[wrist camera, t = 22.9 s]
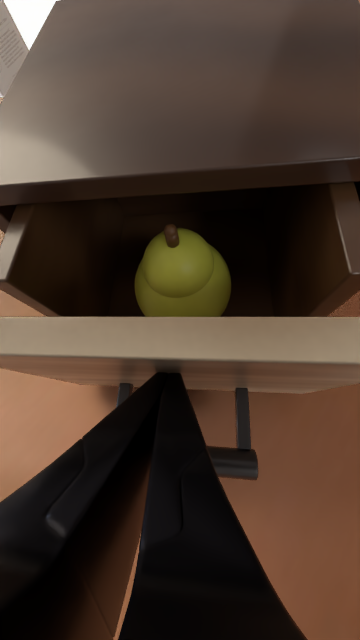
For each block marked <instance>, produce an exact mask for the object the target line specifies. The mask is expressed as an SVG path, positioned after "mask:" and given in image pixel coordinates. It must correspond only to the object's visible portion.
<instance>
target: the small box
mask: <svg viewBox="0 0 360 640" xmlns="http://www.w3.org/2000/svg"><path fill="white" fill-rule="evenodd" d="M28 52H29V50H28V48H27V46H26V44H25V42H24V40H23V38H22V36H21V34H20V32H19V30H18V28H17V27H16V25H15V23H14V21H13V19H12V17H11V15H10V13H9V11H8V9H7V7H6V5H5V3H4V1H3V0H0V97H5V95H6V93H7V91H8V89H9V88H10V86H11V84H12V82H13V80H14V78H15V76H16V75H17V73H18V71H19V69H20V67H21V65H22V64H23V62H24V60H25V58H26V56H27V54H28Z"/></svg>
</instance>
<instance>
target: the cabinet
mask: <svg viewBox="0 0 360 640" xmlns="http://www.w3.org/2000/svg"><path fill="white" fill-rule="evenodd" d="M343 182H354V185H355V188H356V191H357V195H358V198H359V201H360V3H359V1H358V0H60V1H56V3H55V4H54V6H53V8H52V10H51V12H50V14H49V15H48V17H47V19H46V21H45V23H44V25H43V27H42V28H41V30H40V32H39V34H38V36H37V38H36V40H35V41H34V43H33V45H32V47H31V49H30V51H29V52H28V54H27V56H26V58H25V60H24V62H23V64H22V65H21V67H20V69H19V71H18V73H17V75H16V76H15V78H14V80H13V82H12V84H11V86H10V88H9V89H8V91H7V93H6V95H5V97H4V99H3V101H2V102H1V104H0V230H1V231H3V232H4V233H6V231H7V228H8V226H9V223H10V221H11V218H12V216H13V213H14V211H15V208H16V206H17V205H19V204H34V203H49V202H63V201H78V200H93V199H108V198H122V197H137V196H152V195H167V194H181V193H196V192H211V191H225V190H240V189H255V188H270V187H284V186H299V185H314V184H329V183H343Z"/></svg>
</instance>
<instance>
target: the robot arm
mask: <svg viewBox="0 0 360 640" xmlns="http://www.w3.org/2000/svg"><path fill="white" fill-rule="evenodd" d="M140 534H141V539H140V546H139V554H138V560H137V567H136V573H135V578H134V583H133V588H132V593H131V597H130V601H129V604H128V608H127V611H126V614H125V618H124V621H123V625H122V628H121V632H120V635H119V638H118V640H307V638H306V637H305V636H304V634H303V633H302V632H301V630H300V629H299V627H298V626H297V625H296V623H295V622H294V621H293V619H292V618H291V616H290V615H289V613H288V611H287V610H286V608H285V607H284V605H283V603H282V602H281V600H280V598H279V597H278V595H277V593H276V591H275V590H274V588H273V586H272V584H271V583H270V581H269V579H268V577H267V575H266V573H265V571H264V569H263V568H262V566H261V564H260V562H259V560H258V558H257V556H256V554H255V552H254V550H253V548H252V546H251V544H250V542H249V540H248V538H247V536H246V534H245V532H244V530H243V528H242V526H241V524H240V522H239V520H238V518H237V516H236V514H235V512H234V510H233V508H232V506H231V504H230V502H229V500H228V498H227V496H226V493H225V491H224V489H223V487H222V485H221V483H220V481H219V478H218V475H217V473H216V470H215V468H214V465H213V463H212V460H211V457H210V454H209V452H208V449H207V446H206V443H205V441H204V438H203V435H202V432H201V429H200V426H199V424H198V421H197V418H196V415H195V412H194V409H193V406H192V404H191V401H190V398H189V395H188V392H187V389H186V386H185V384H184V381H183V378H182V375H181V373H172V372H171V373H167V372H157V373H155V374H154V375H153V376H152V377H151V378H150V379H148V380H147V381H146V382H145V383H144V384H143V385H142V386H140V387H139V388H138V389H137V390H136V391H135V392H134V393H132V394H131V395H130V396H129V397H128V398H127V399H126V400H124V401H123V402H122V403H121V404H120V405H119V406H118V407H116V408H115V409H114V410H113V411H112V412H111V413H110V414H108V415H107V416H106V417H105V418H104V419H103V420H102V421H100V422H99V423H98V424H97V425H96V426H95V427H94V428H92V429H91V430H90V431H89V432H88V433H87V434H85V435H84V436H83V437H82V439H80V440H78V441H77V442H76V443H75V444H74V445H73V446H72V447H70V448H69V449H68V450H67V451H66V452H65V453H63V454H62V455H61V456H60V457H59V458H57V459H56V460H55V461H54V462H53V463H51V464H50V465H49V466H48V467H46V468H45V469H44V470H42V471H41V472H40V473H39V474H37V475H36V476H35V477H33V478H32V479H31V480H30V481H28V482H27V483H26V484H24V485H23V486H22V487H20V488H19V489H18V490H16V491H15V492H14V493H12V494H11V495H10V496H8V497H7V498H6V499H4V500H3V501H2V502H0V640H113V637H114V636H115V632H116V628H117V624H118V621H119V617H120V613H121V609H122V605H123V601H124V597H125V593H126V589H127V585H128V581H129V577H130V574H131V570H132V566H133V562H134V558H135V554H136V550H137V546H138V542H139V538H140Z"/></svg>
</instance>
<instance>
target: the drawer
mask: <svg viewBox="0 0 360 640" xmlns="http://www.w3.org/2000/svg"><path fill="white" fill-rule="evenodd" d="M168 224H173V225H175V226H176V228H183V229H188V230H191V231H193V232H195V233H197V234H198V235H200V236H201V237H202V238H203V239H204V240H205V241H206V242H207V243H208V244H210V245H211V246H212V247H214V248H215V249H216V250H217V251H218V252H219V253H220V255H221V256H222V257H223V259H224V260H225V262H226V264H227V266H228V269H229V272H230V276H231V294H230V299H229V302H228V304H227V307H226V309H225V311H224V312H223V313H222V315H221V316H220V317H146V316H145V315H144V314H143V312H142V311H141V309H140V307H139V305H138V302H137V299H136V295H135V276H136V272H137V269H138V266H139V264H140V262H141V260H142V259H143V256H144V253H145V250H146V248H147V246H148V244H149V243H150V242H151V240H152V239H153V238H154V237H155V236H157V235H158V234H160V233H161V232H163V231H164V228H165V226H166V225H168ZM0 289H1V290H2V291H4V292H6V293H8V294H9V295H11V296H13V297H14V298H16V299H18V300H20V301H21V302H23V303H25V304H27V305H28V306H30V307H32V308H34V309H35V310H37V311H39V312H40V313H42V314H44V315H46V316H47V317H0V368H2V369H7V370H12V371H17V372H22V373H27V374H32V375H37V376H42V377H47V378H52V379H56V380H61V381H66V382H71V383H76V384H81V385H101V386H119V391H118V399H117V406H116V407H118V406H119V405H120V404H121V403H122V402H123V401H124V400H126V399H127V398H128V397H129V396H130V395H131V394H132V393H133V387H140V386H142V385H143V384H144V383H145V382H146V381H147V380H148V379H150V378H151V377H152V376H153V375H154V374H155V373H157V372H167V373H171V372H172V373H181V375H182V378H183V381H184V384H185V386H186V389H197V390H221V391H235V414H236V444H237V448H230V447H216V446H207V449H208V452H209V454H210V457H211V460H212V463H213V465H214V468H215V470H216V473H217V475H218V477H222V478H233V479H245V480H257V478H258V462H257V455H256V452H255V450H254V449H251V436H250V417H249V398H248V392H269V393H294V394H305V393H310V392H316V391H321V390H327V389H333V388H338V387H344V386H349V385H355V384H360V317H327V316H328V315H330V314H331V313H332V312H333V311H335V310H336V309H337V308H338V307H340V306H341V305H342V304H343V303H345V302H346V301H347V300H348V299H349V298H351V297H352V296H353V295H354V294H356V293H357V292H358V291H359V290H360V201H359V198H358V195H357V191H356V188H355V185H354V182H343V183H329V184H314V185H299V186H284V187H270V188H255V189H240V190H225V191H211V192H196V193H181V194H167V195H152V196H137V197H122V198H108V199H93V200H78V201H63V202H49V203H34V204H19V205H17V206H16V208H15V211H14V213H13V216H12V218H11V221H10V223H9V226H8V228H7V231H6V233H5V236H4V238H3V241H2V243H1V246H0Z"/></svg>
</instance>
